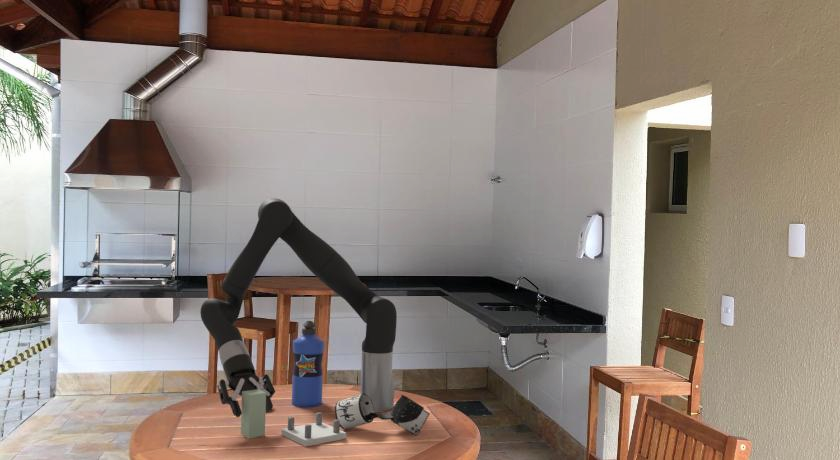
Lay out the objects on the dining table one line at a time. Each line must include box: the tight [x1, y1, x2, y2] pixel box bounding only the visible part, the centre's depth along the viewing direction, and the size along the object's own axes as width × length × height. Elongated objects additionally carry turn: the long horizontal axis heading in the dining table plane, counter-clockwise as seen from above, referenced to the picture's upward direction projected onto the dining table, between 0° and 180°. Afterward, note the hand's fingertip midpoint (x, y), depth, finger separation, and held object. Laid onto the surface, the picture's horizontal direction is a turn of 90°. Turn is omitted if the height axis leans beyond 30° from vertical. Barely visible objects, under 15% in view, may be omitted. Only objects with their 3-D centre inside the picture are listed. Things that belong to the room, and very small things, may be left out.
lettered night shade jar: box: [334, 393, 431, 436], centre depth 195 cm, size 25×10×10 cm, turn 88°
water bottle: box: [291, 320, 325, 408], centre depth 222 cm, size 9×9×25 cm
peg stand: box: [280, 412, 347, 447], centre depth 189 cm, size 12×12×4 cm
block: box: [240, 389, 267, 439], centre depth 189 cm, size 4×4×11 cm
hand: (254, 413), depth 188 cm, fingers open, 8 cm apart
